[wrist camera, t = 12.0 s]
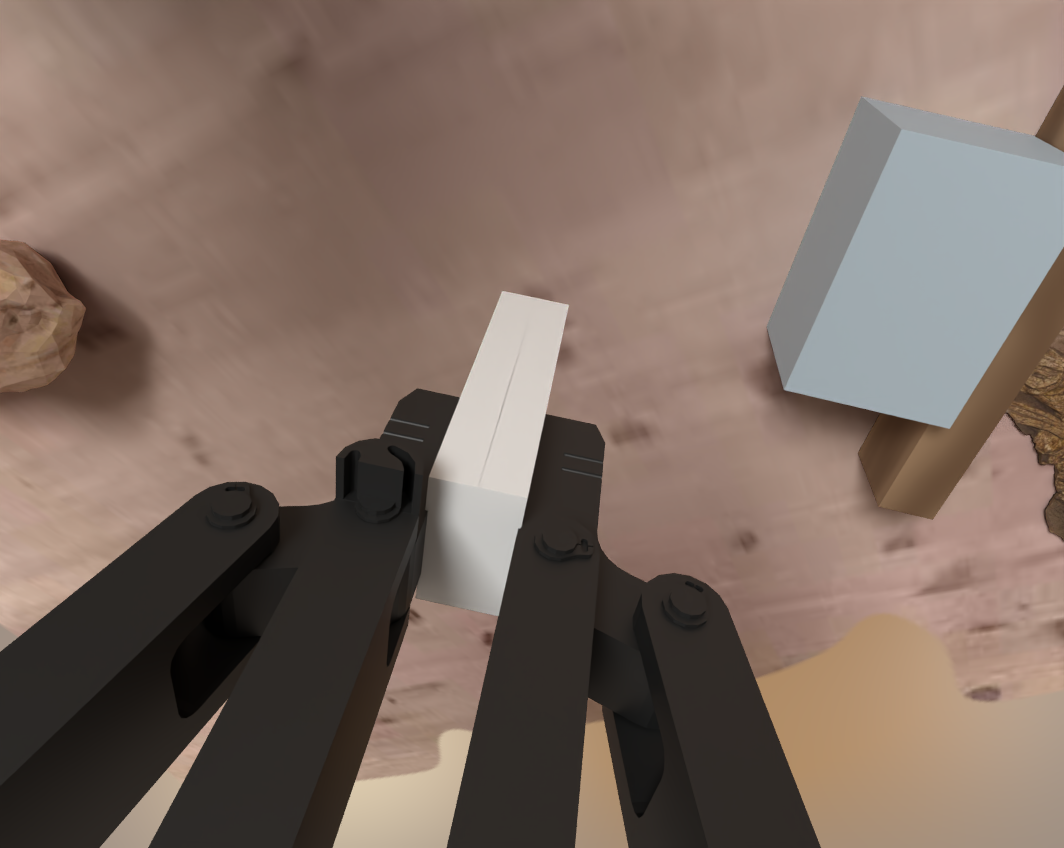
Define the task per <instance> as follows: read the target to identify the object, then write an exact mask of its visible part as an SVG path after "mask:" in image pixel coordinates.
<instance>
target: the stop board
mask: <svg viewBox="0 0 1064 848" xmlns="http://www.w3.org/2000/svg"><path fill="white" fill-rule="evenodd" d="M1035 137H1037V138H1039V139H1040V140H1042V141H1044V142H1046V143H1048V144H1050V145H1051V146H1053V147H1055V148H1057V149H1059V150H1061V151H1062V152H1064V86H1063V88H1062V90H1061V92H1060V93H1059V95H1058V97H1057V99H1056V101H1055V102H1054V104H1053V106H1052V108H1051V110H1050V111H1049V113H1048V115H1047V117H1046V118H1045V120H1044V122H1043V124H1042V126H1041V127H1040V129H1039V131H1038V133H1037V135H1036V136H1035ZM1063 327H1064V247H1063V249H1062V250H1061V252H1060V254H1059V255H1058V257H1057V258H1056V260H1055V262H1054V263H1053V265H1052V266H1051V268H1050V270H1049V271H1048V273H1047V274H1046V276H1045V278H1044V279H1043V281H1042V282H1041V284H1040V286H1039V287H1038V289H1037V290H1036V292H1035V294H1034V295H1033V297H1032V298H1031V300H1030V301H1029V303H1028V305H1027V306H1026V308H1025V309H1024V311H1023V313H1022V314H1021V316H1020V317H1019V319H1018V321H1017V322H1016V324H1015V325H1014V327H1013V329H1012V330H1011V332H1010V333H1009V335H1008V337H1007V338H1006V340H1005V341H1004V343H1003V345H1002V346H1001V348H1000V349H999V351H998V353H997V354H996V356H995V357H994V359H993V361H992V362H991V364H990V365H989V367H988V368H987V370H986V372H985V373H984V375H983V376H982V378H981V380H980V381H979V383H978V384H977V386H976V388H975V389H974V391H973V392H972V394H971V396H970V397H969V399H968V400H967V402H966V404H965V405H964V407H963V408H962V410H961V412H960V413H959V415H958V416H957V418H956V420H955V421H954V423H953V424H952V426H951V428H950V429H948V428H944V427H940V426H935V425H931V424H927V423H923V422H918V421H914V420H910V419H906V418H901V417H897V416H893V415H889V414H884V413H880V415H879V416H878V418H877V420H876V422H875V424H874V425H873V427H872V429H871V431H870V433H869V434H868V436H867V438H866V440H865V441H864V443H863V445H862V447H861V449H860V450H859V452H858V454H859V457H860V459H861V462H862V465H863V467H864V470H865V472H866V475H867V478H868V480H869V483H870V486H871V488H872V491H873V493H874V496H875V499H876V501H877V504H878V507H882V508H886V509H891V510H895V511H899V512H903V513H907V514H911V515H916V516H920V517H924V518H928V519H932V520H933V518H934V517H935V515H936V514H937V512H938V511H939V509H940V508H941V507H942V505H943V504H944V502H945V501H946V499H947V498H948V496H949V495H950V493H951V492H952V490H953V489H954V487H955V486H956V484H957V483H958V481H959V480H960V479H961V477H962V476H963V474H964V473H965V471H966V470H967V468H968V467H969V465H970V464H971V462H972V461H973V459H974V458H975V456H976V455H977V453H978V452H979V451H980V449H981V448H982V446H983V445H984V443H985V442H986V440H987V439H988V437H989V436H990V434H991V433H992V431H993V430H994V428H995V427H996V425H997V424H998V423H999V421H1000V420H1001V418H1002V417H1003V415H1004V414H1005V412H1006V411H1007V409H1008V408H1009V406H1010V405H1011V403H1012V402H1013V400H1014V399H1015V397H1016V396H1017V395H1018V393H1019V392H1020V390H1021V389H1022V387H1023V386H1024V384H1025V383H1026V381H1027V380H1028V378H1029V377H1030V375H1031V374H1032V372H1033V371H1034V369H1035V368H1036V367H1037V365H1038V364H1039V362H1040V361H1041V359H1042V358H1043V356H1044V355H1045V353H1046V352H1047V350H1048V349H1049V347H1050V346H1051V344H1052V343H1053V341H1054V340H1055V339H1056V337H1057V336H1058V334H1059V333H1060V331H1061V330H1062V328H1063Z"/></svg>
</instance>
